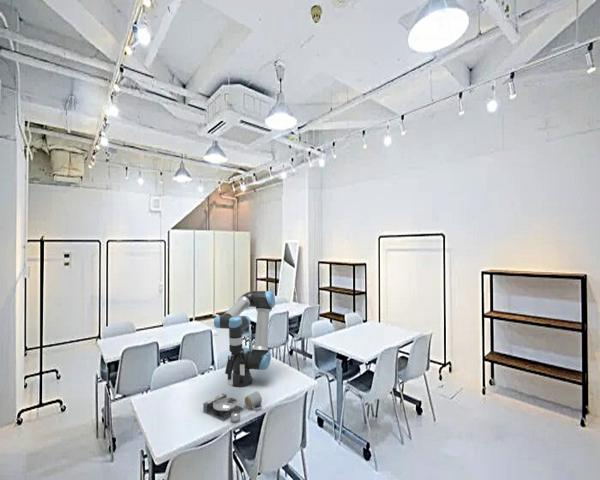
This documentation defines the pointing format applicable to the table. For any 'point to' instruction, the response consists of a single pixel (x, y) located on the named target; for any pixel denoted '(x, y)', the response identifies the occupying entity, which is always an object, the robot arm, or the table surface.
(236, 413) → the steel spacer
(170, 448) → the table surface
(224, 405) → the pan
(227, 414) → the scale base
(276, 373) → the table surface
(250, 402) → the ceramic mug
